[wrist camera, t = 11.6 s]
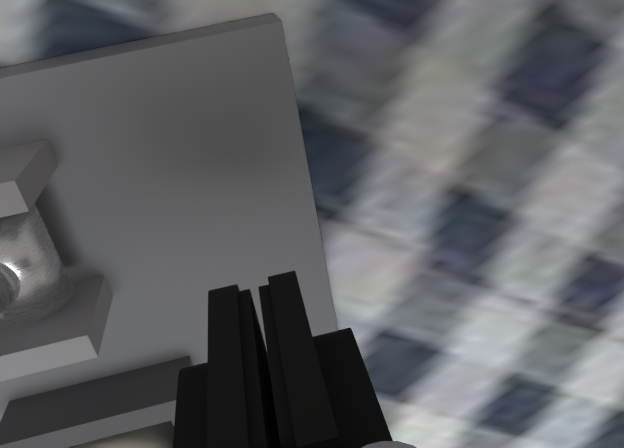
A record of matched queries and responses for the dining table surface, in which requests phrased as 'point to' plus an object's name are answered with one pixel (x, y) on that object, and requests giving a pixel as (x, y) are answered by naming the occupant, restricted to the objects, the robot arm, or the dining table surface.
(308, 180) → the control panel
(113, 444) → the push button
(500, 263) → the dining table surface
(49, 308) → the toggle lever
